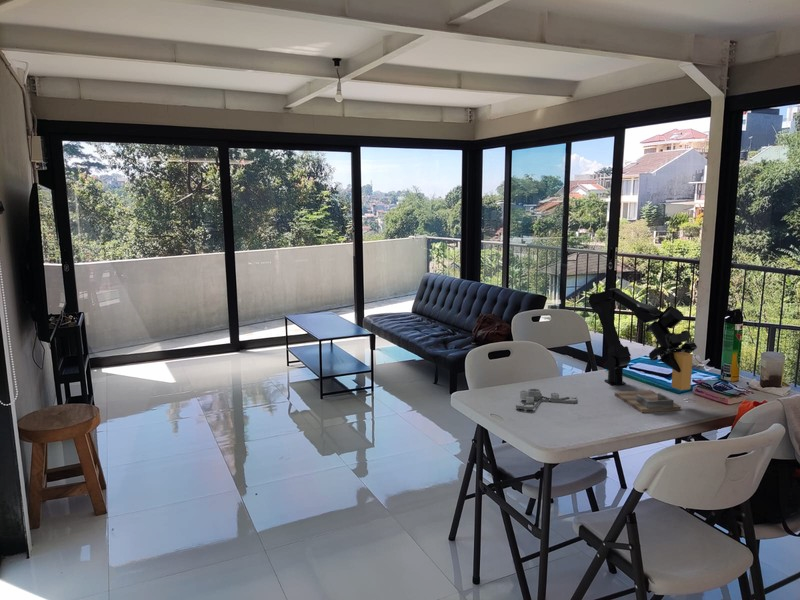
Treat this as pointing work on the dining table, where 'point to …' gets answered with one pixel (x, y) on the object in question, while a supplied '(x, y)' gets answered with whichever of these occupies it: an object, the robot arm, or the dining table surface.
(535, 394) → the pulley system
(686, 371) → the block
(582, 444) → the dining table surface
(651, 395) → the keeper
